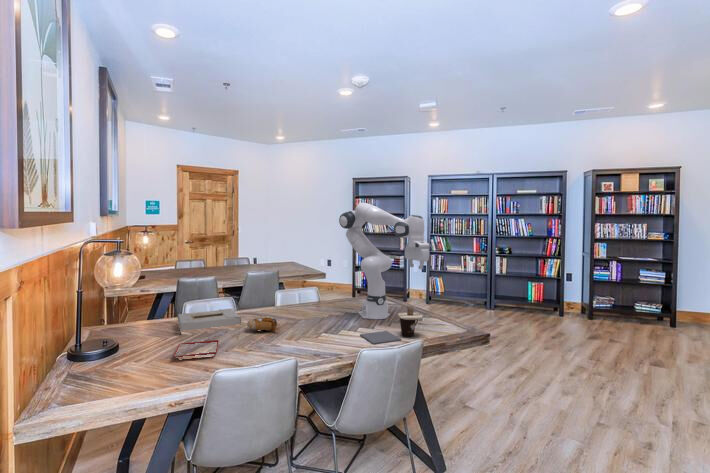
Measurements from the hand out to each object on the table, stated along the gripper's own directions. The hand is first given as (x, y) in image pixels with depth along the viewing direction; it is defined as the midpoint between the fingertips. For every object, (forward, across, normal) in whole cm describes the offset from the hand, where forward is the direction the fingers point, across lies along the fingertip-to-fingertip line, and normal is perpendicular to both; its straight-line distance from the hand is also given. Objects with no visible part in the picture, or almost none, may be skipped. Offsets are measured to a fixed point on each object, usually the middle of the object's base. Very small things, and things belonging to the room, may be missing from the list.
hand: (416, 268), depth 222 cm
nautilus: (+34, -26, -80) cm, 91 cm away
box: (+35, -49, -108) cm, 124 cm away
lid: (+24, +12, -11) cm, 29 cm away
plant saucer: (+35, -3, -116) cm, 121 cm away
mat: (+34, +10, -28) cm, 45 cm away
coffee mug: (+34, +12, -11) cm, 38 cm away
